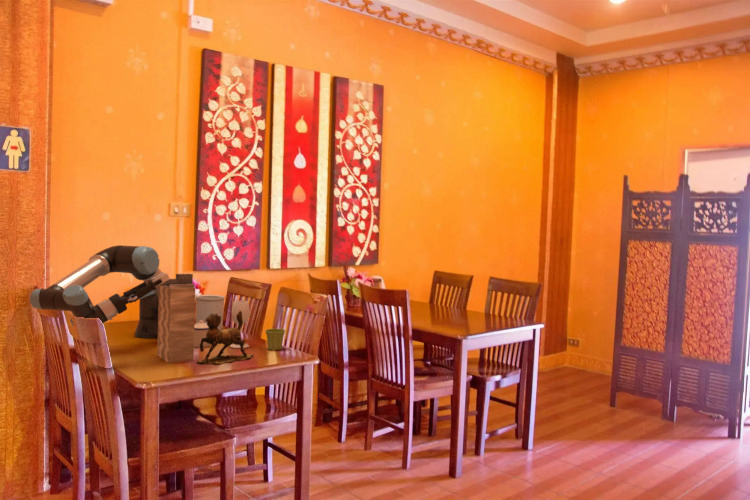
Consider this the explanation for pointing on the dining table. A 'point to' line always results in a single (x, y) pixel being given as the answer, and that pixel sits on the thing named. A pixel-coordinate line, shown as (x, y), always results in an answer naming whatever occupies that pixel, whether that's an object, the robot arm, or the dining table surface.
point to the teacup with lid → (200, 334)
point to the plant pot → (275, 338)
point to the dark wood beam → (176, 280)
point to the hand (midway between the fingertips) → (166, 275)
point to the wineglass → (244, 308)
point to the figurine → (223, 341)
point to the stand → (176, 322)
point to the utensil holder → (209, 307)
